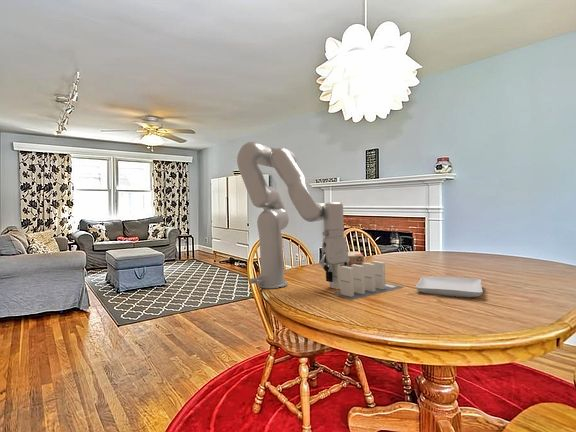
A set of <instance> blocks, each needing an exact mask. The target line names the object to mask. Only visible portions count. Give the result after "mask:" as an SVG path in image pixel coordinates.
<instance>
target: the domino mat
mask: <svg viewBox="0 0 576 432" xmlns="http://www.w3.org/2000/svg"><path fill="white" fill-rule="evenodd" d="M385 287H386V289H379V288H375V291H374V292H371V291H368V290H365V294H359V293H355V292H354V296H352V297H350V296H346V295H343V294H341V290H340V291H337V292H331V293H330V294H331V295H335V296H338V297H341V298H344V299H345V298H346V299H347V300H348V299H349V300H351V301H353V300H357V299H361V298H366V297H370V296H373V295H379V294H382V293H386V292H387V293H388V292H391V291H394V290H399V289H402V288H405V286H402V285H397V284H393V283H388V282H385Z"/></svg>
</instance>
